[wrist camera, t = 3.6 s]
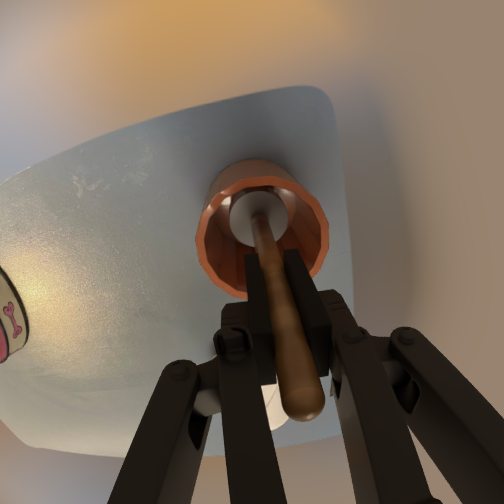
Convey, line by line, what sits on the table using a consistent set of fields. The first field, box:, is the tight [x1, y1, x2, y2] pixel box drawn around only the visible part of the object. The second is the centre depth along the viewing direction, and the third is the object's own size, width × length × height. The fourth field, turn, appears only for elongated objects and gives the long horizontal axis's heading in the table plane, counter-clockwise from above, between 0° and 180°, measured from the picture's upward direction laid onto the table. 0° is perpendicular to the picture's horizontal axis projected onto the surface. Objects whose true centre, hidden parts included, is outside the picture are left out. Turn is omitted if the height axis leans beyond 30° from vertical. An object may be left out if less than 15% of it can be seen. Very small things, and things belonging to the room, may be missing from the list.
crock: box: [195, 159, 329, 300], centre depth 26 cm, size 9×9×10 cm
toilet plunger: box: [229, 185, 325, 422], centre depth 18 cm, size 5×5×21 cm
